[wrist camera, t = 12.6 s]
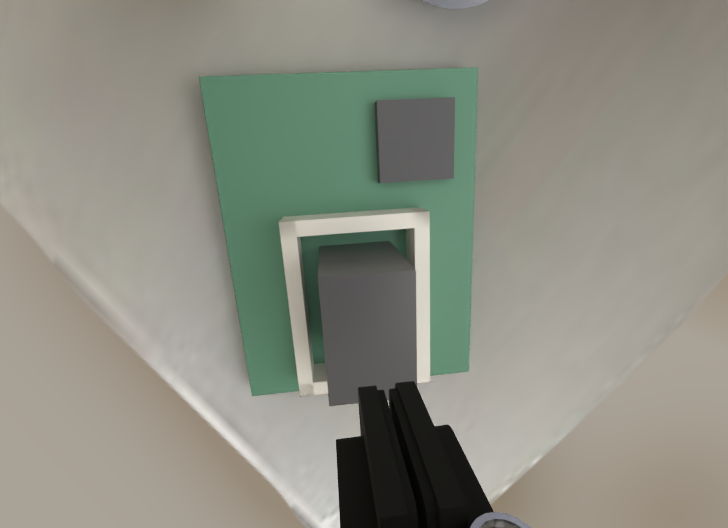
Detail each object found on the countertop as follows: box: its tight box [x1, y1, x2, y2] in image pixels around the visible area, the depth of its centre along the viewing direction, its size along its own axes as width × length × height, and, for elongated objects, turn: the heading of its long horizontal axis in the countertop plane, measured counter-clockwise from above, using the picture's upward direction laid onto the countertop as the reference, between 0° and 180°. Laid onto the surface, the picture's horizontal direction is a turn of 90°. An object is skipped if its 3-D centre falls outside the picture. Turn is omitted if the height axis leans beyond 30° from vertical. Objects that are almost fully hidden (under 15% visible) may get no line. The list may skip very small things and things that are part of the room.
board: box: [199, 68, 478, 397], centre depth 20 cm, size 18×14×4 cm
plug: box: [318, 241, 417, 406], centre depth 18 cm, size 7×4×6 cm, turn 3°
